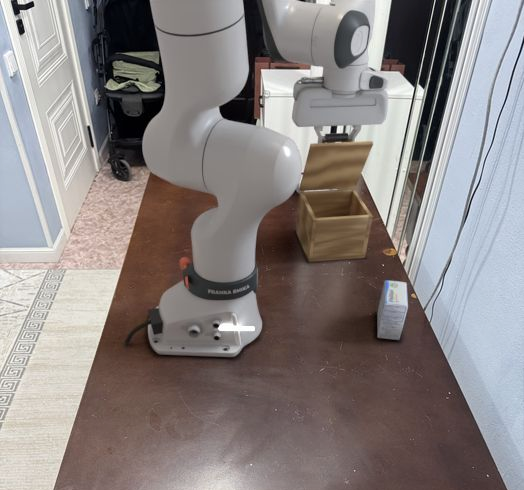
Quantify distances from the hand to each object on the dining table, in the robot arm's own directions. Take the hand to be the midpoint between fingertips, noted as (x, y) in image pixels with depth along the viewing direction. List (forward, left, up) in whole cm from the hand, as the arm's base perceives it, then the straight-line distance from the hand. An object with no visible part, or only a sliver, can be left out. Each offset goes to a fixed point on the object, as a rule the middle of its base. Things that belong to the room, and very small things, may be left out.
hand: (335, 145), depth 110 cm
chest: (0, -5, -22) cm, 23 cm away
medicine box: (+4, -37, -23) cm, 43 cm away
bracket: (+3, +19, -23) cm, 30 cm away
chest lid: (0, -2, -5) cm, 5 cm away
